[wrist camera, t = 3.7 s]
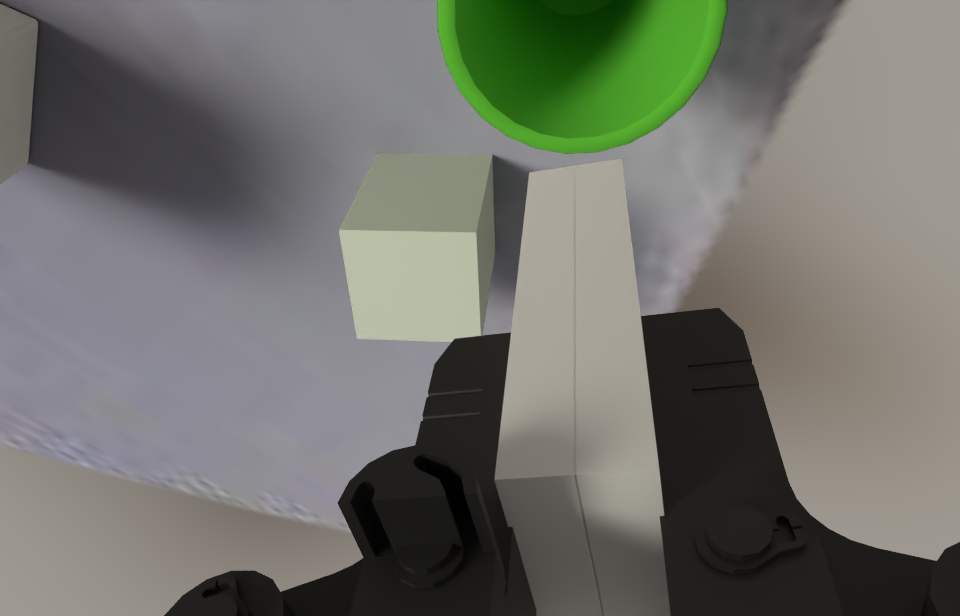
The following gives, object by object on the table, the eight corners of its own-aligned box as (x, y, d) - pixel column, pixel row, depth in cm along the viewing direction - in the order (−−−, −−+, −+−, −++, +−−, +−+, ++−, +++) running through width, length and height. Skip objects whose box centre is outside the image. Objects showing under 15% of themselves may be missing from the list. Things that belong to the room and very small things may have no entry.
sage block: (389, 251, 42) (357, 338, 36) (377, 152, 39) (338, 229, 32) (495, 253, 42) (481, 343, 35) (492, 154, 38) (476, 232, 32)
